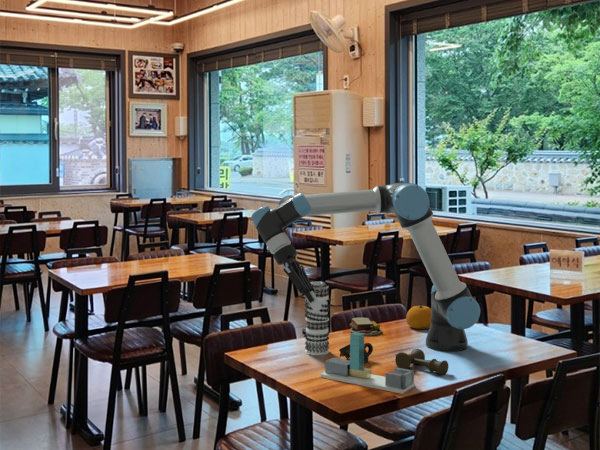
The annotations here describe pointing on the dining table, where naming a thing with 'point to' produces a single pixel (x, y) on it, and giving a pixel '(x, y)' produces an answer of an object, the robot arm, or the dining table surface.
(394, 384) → the socket
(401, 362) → the kendama
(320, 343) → the decorative candle
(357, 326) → the toy sandwich meal
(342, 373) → the sleeve
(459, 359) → the dining table surface
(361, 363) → the two-tone teal block
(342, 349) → the brown grey jagged ring
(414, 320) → the fruit
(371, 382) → the base board
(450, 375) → the dining table surface
